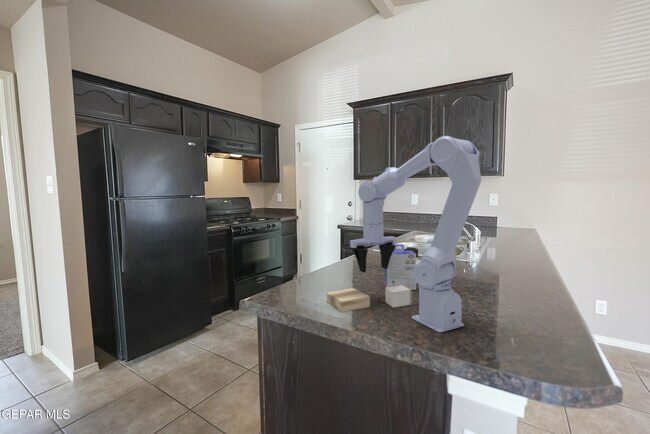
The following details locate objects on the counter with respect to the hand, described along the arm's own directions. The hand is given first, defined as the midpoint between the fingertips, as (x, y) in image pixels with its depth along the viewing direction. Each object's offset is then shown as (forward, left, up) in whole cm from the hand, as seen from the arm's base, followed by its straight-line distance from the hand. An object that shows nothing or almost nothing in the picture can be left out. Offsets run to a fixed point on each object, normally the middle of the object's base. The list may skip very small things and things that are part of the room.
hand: (373, 269), depth 89 cm
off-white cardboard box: (-4, -2, -7) cm, 9 cm away
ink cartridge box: (+7, -15, -10) cm, 19 cm away
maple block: (+2, +8, -9) cm, 12 cm away
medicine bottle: (+12, -23, -10) cm, 28 cm away
